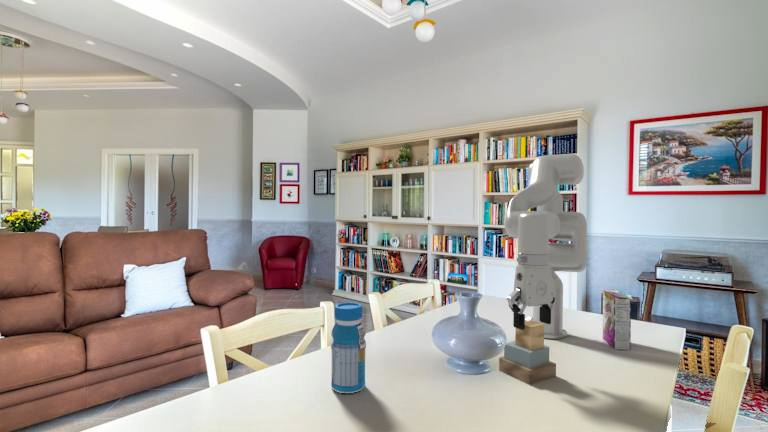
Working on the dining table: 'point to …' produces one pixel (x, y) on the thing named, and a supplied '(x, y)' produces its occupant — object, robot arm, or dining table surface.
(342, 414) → the dining table surface
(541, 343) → the oak block
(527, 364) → the slate-grey block
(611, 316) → the candy bar box
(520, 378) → the walnut slab
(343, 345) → the beverage bottle
